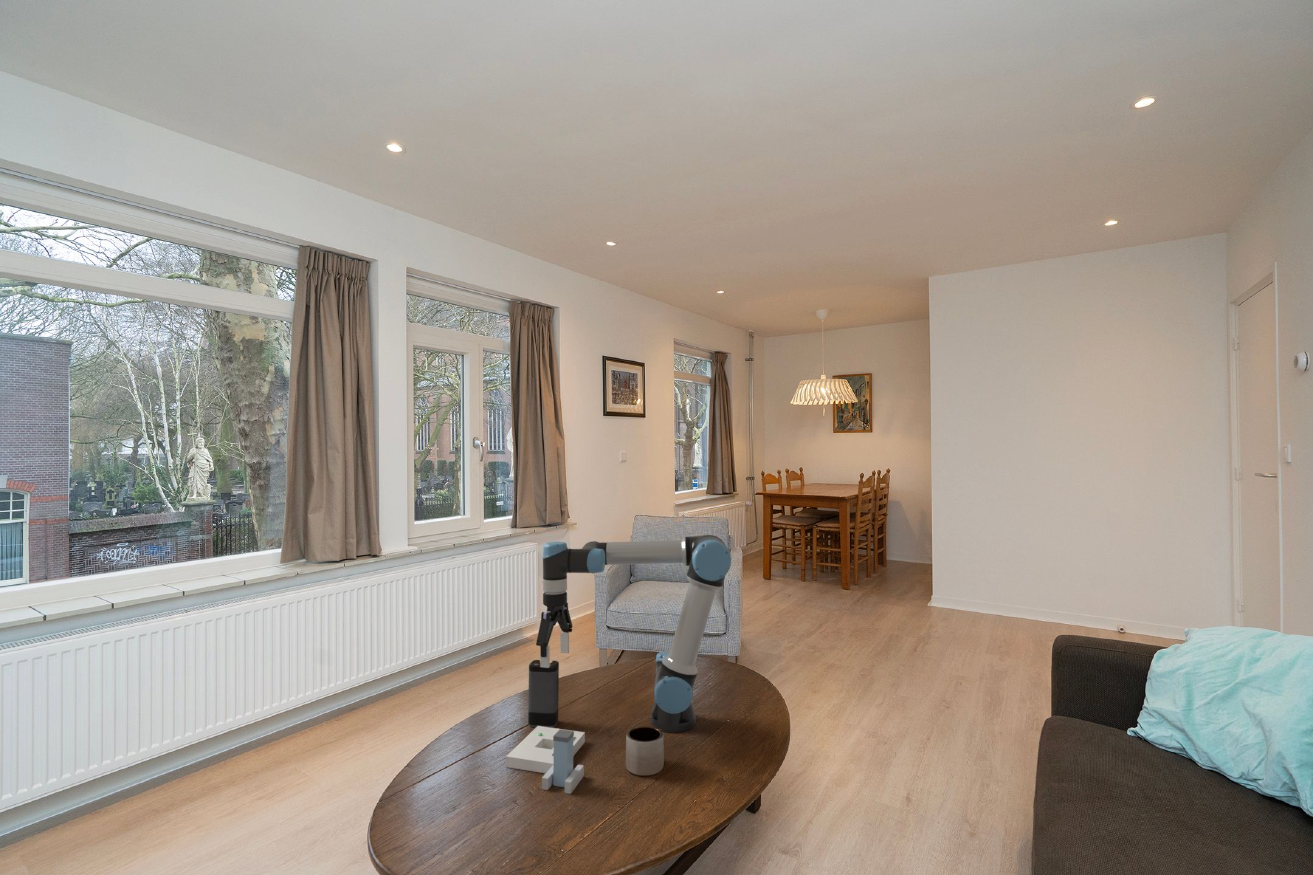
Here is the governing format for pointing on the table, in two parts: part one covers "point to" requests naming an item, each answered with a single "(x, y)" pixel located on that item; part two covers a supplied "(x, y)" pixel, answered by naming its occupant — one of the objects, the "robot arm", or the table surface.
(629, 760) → the planter
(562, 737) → the plug
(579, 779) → the cradle
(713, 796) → the table surface
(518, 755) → the port plate
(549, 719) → the electronic device
